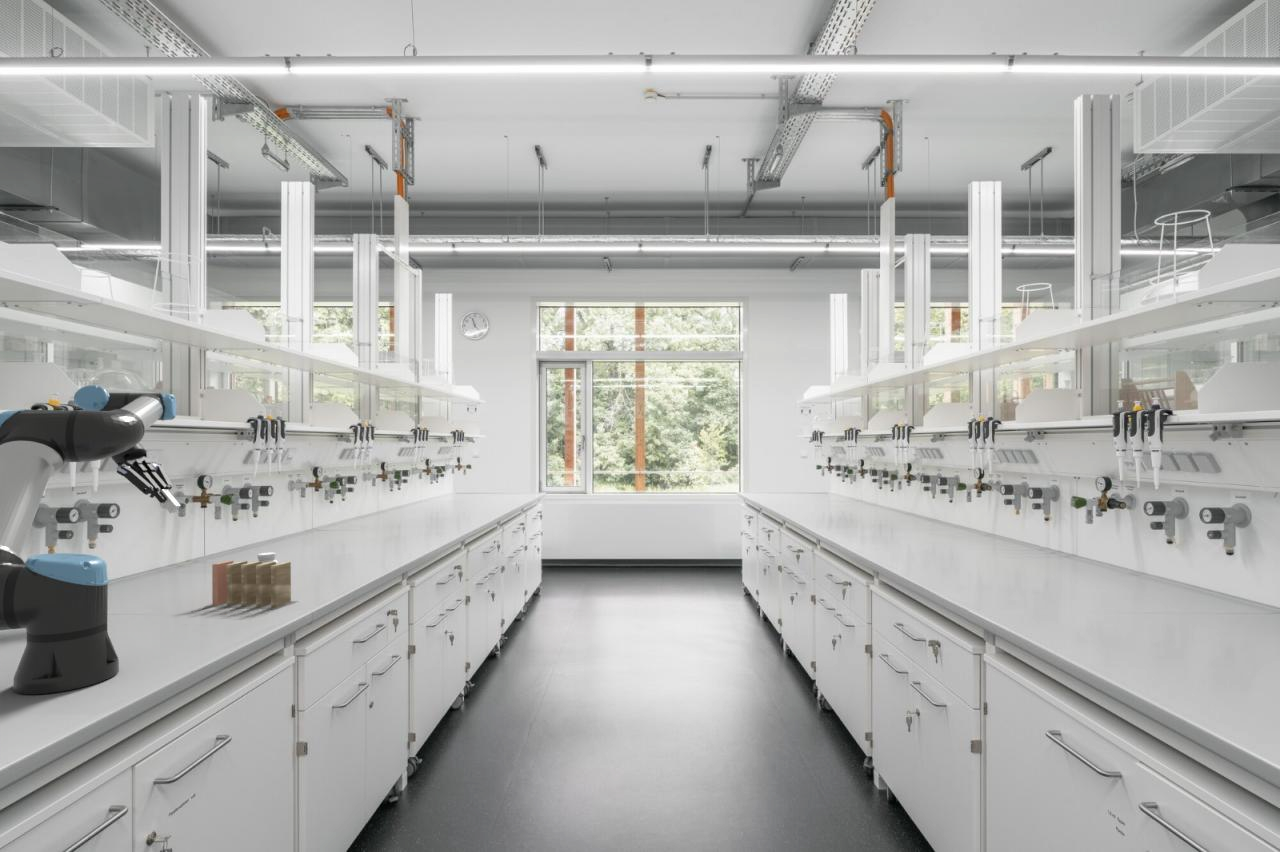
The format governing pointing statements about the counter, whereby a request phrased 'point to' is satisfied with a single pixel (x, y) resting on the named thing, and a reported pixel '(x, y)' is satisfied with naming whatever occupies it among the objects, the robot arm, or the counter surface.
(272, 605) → the domino
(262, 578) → the domino
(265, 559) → the pill bottle
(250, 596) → the domino
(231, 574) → the domino
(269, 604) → the mat
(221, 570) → the domino
